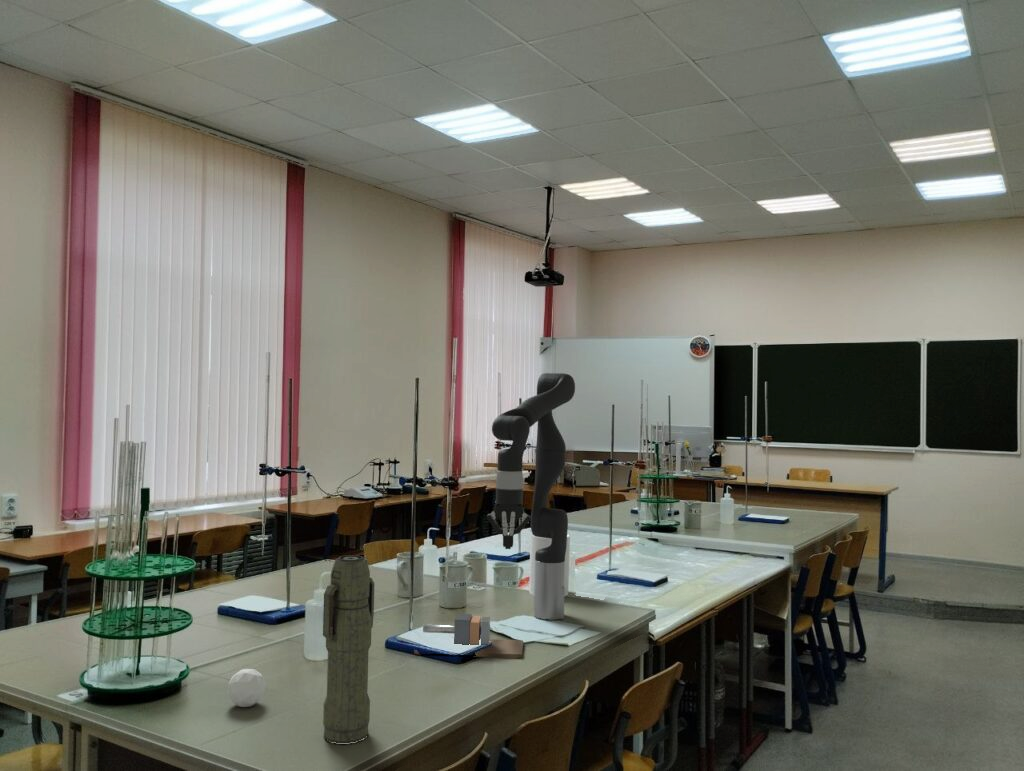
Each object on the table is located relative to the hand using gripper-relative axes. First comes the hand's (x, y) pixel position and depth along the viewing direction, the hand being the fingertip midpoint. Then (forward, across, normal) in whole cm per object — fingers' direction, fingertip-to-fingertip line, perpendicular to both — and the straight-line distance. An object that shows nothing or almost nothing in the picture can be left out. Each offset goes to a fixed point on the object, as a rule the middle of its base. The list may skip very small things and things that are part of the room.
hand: (508, 548), depth 225 cm
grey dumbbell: (+23, -13, -11) cm, 29 cm away
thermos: (+25, -28, -68) cm, 78 cm away
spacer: (+23, -8, -11) cm, 27 cm away
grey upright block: (+24, -11, -11) cm, 29 cm away
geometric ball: (+25, -53, -55) cm, 80 cm away
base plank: (+25, -9, -11) cm, 29 cm away
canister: (+25, +12, +54) cm, 61 cm away
